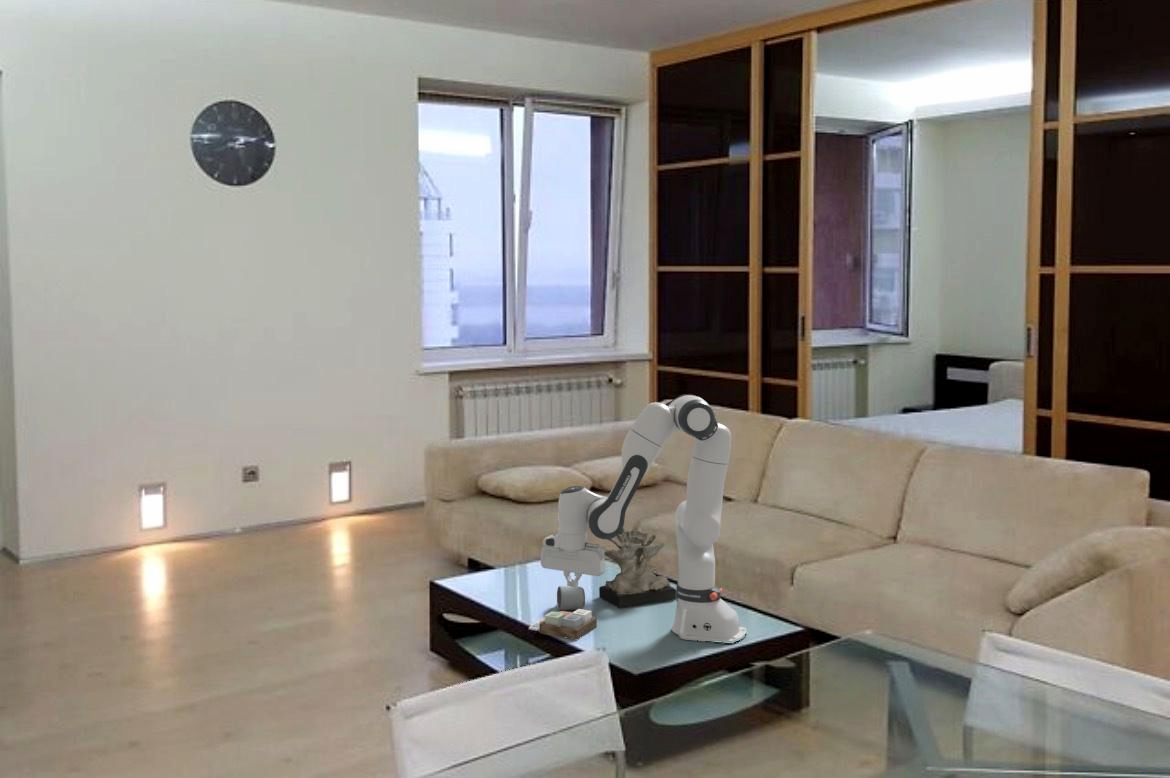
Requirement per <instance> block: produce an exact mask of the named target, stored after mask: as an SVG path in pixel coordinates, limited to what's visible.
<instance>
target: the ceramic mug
mask: <svg viewBox="0 0 1170 778" xmlns="http://www.w3.org/2000/svg"><path fill="white" fill-rule="evenodd" d="M585 604H586V593H585V589H584V588H583V587H582V586H579V585H578V586H577V587H572V586H567V585H559V586H558V587H557V590H556V605H557V608H558V610H559V611H573V610H575V611H576V610H578V609H582V610H583V609H584V608H585Z"/></svg>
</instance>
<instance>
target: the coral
mask: <svg viewBox="0 0 1170 778" xmlns="http://www.w3.org/2000/svg"><path fill="white" fill-rule="evenodd" d="M625 530H626V528H625V527H623V529H622V531H621V532H620V533H619V534H618V535H617V536H616V537H614V538H612V539H606V540H607V541H608V542H609V541H610V542H612V543H613V544H614V545H615V546H617V548H618V549H611V550H608V549H607V548H606V547H603V545H600V546H601V547H602V548H603V549H604V557H607V558H609V559H610V560H613V561H614V562H615V563H616V564H618V567H619V568H620V572H619V573H617V574H616V575H615V577H614V578H613V579H612V580H606V581H605V584H604V585H601V586H599V587H598V589H599V590H598V592H599V596H598V597H599V598H601V599H602V600H603V601H605V602H607V603H609V604H611V605H613V606H614V607H616V608H617V609H624V608H631V607H633V608H634V607H638V606H646V605H652V604H659V603H665V602H669V601H676V589H675V588H674V587H672V586H670V585H671V583H670V581H669V580H668V578H667V577H666V575H665V574H660V575H656V574H655V573H653V572H652V571H651V569H649V568H647V565H648V562H650V561H651V559H652V558H653V557H655V556H656V555H657V554H658V553H659V551H661V549H663V548H664V547H665V545H666V542H664V541H662V543H661V542H660V544H657V545H652V543H653V542H654V541H655V539H656V537H657V535H655V534H651V536H650V537H648V536H649V535H648V533H647V532H643V531H641V530H635V529H634V530H633V529H632V530H629V531H628V530H626V531H625ZM647 539H648V540H647ZM646 541H647V542H646ZM645 543H646V544H645ZM641 556H643V557H642V558H641Z"/></svg>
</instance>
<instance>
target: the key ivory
mask: <svg viewBox="0 0 1170 778" xmlns="http://www.w3.org/2000/svg"><path fill="white" fill-rule="evenodd" d="M571 613H572V615H576V616H582V623H586V622H588V621H590V620H591V619H592V617H593V616H592V614H593V613H592V610H588V609H583V608H582V609H577V610H575V611H573V612H571Z"/></svg>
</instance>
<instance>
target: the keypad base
mask: <svg viewBox="0 0 1170 778" xmlns="http://www.w3.org/2000/svg"><path fill="white" fill-rule="evenodd" d="M557 612H558V613H559V612H560V611H557ZM597 624H598V619H597V617H594V616H592V619H591V620H590V621H588V622H586V623H582V626H580V627H579V628H577V629H573V628H568V627H563V623H562V624H561V625H559V626H556V625H551V624H545V621H543V622H541V623H539V630H538V631H539V634H542V635H548V636H552V635H553V636H552V637H558V636H559V637H558V638H563V637H567V638H566V639H569V638H573V639H572V640H574V639H578V638H580V637H581V638H583V637H584V636H586V635H588V634H589V633H591V632H592V631H594V630H595V629H598V625H597ZM585 634H586V635H585ZM582 636H583V637H582ZM581 638H580V639H581ZM578 640H579V639H578Z"/></svg>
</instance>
